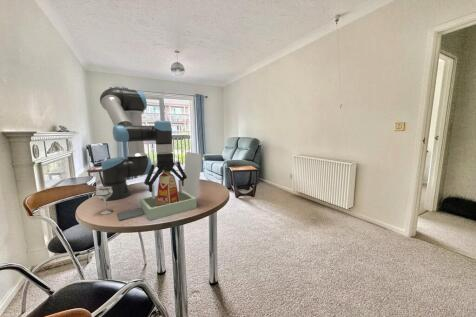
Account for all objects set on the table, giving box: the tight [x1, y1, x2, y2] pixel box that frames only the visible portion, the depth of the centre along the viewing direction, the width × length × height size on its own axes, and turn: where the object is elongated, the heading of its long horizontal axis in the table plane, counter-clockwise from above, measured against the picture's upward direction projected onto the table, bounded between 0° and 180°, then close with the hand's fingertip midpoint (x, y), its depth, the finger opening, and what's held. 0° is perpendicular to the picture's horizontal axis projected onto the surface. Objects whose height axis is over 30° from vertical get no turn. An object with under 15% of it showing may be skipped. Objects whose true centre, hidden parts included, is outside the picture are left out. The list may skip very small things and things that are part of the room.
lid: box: [182, 151, 205, 199], centre depth 106 cm, size 18×22×2 cm
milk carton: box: [155, 170, 179, 207], centre depth 98 cm, size 9×9×20 cm
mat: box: [116, 207, 145, 222], centre depth 92 cm, size 10×10×1 cm
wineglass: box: [95, 186, 113, 215], centre depth 95 cm, size 7×7×12 cm
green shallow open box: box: [139, 190, 197, 221], centre depth 99 cm, size 18×22×5 cm
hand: (167, 195), depth 98 cm, fingers open, 13 cm apart
